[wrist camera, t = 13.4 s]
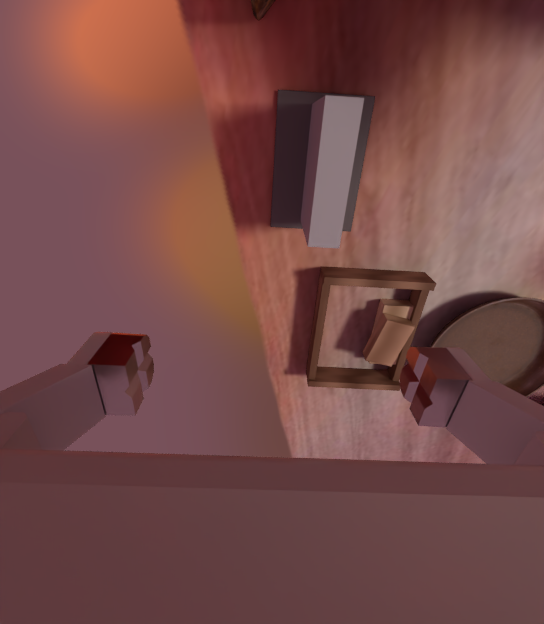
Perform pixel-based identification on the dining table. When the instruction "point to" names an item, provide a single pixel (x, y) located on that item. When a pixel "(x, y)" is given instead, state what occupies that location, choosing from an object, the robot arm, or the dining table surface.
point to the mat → (294, 156)
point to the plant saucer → (502, 341)
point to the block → (329, 168)
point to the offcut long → (393, 311)
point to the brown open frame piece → (328, 277)
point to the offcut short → (388, 339)
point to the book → (261, 7)
